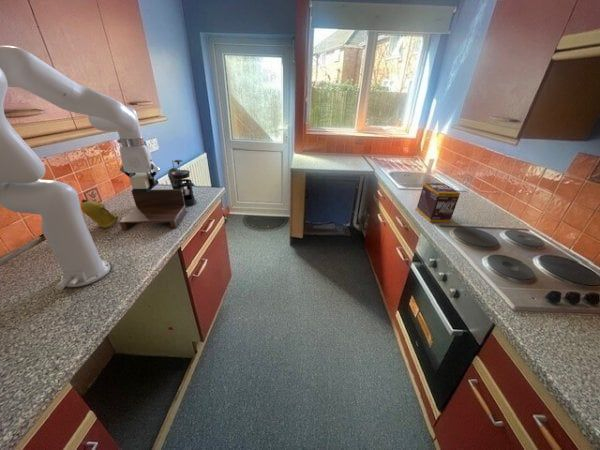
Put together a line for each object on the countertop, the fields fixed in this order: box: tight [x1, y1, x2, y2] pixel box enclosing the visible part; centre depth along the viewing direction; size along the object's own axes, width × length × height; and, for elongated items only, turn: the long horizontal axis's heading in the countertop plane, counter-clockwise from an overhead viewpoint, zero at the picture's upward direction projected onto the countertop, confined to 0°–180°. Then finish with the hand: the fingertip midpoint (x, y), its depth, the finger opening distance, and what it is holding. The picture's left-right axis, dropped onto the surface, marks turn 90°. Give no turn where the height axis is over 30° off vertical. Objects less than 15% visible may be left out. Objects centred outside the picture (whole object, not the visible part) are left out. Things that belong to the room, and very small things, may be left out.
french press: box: [171, 159, 197, 207], centre depth 127 cm, size 12×9×23 cm
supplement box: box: [416, 182, 461, 223], centre depth 125 cm, size 10×15×16 cm
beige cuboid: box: [129, 173, 159, 193], centre depth 105 cm, size 12×5×6 cm, turn 7°
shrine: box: [80, 199, 119, 229], centre depth 105 cm, size 12×8×15 cm
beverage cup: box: [167, 160, 183, 190], centre depth 138 cm, size 7×7×20 cm
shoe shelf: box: [119, 188, 187, 231], centre depth 112 cm, size 17×22×12 cm
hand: (145, 186), depth 105 cm, fingers closed on beige cuboid, 5 cm apart
